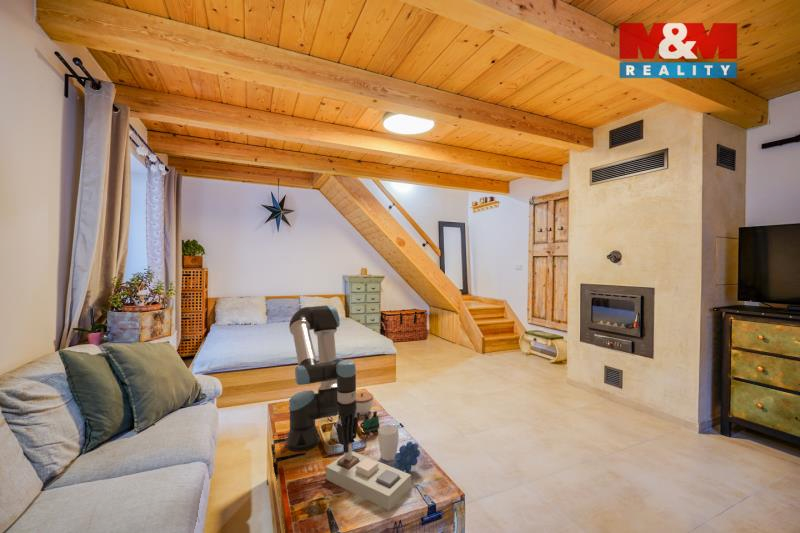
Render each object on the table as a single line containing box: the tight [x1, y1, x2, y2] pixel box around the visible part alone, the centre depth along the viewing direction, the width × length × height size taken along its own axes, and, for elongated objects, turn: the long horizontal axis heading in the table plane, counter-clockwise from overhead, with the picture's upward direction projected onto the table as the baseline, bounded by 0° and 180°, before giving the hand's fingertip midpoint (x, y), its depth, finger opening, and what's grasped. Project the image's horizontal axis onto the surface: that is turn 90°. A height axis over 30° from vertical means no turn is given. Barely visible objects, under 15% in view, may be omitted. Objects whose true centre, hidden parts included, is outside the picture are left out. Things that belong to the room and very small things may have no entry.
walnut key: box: [338, 455, 359, 470], centre depth 138 cm, size 6×6×4 cm
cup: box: [377, 424, 400, 462], centre depth 150 cm, size 9×9×12 cm
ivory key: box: [356, 458, 378, 479], centre depth 133 cm, size 6×6×4 cm
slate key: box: [377, 470, 400, 488], centre depth 127 cm, size 6×6×4 cm
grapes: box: [393, 441, 421, 473], centre depth 140 cm, size 12×7×12 cm, turn 115°
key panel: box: [325, 450, 412, 511], centre depth 133 cm, size 31×14×5 cm, turn 55°
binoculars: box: [359, 411, 381, 438], centre depth 172 cm, size 9×11×10 cm
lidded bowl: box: [356, 391, 374, 416], centre depth 195 cm, size 13×13×11 cm
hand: (348, 458), depth 138 cm, fingers closed
